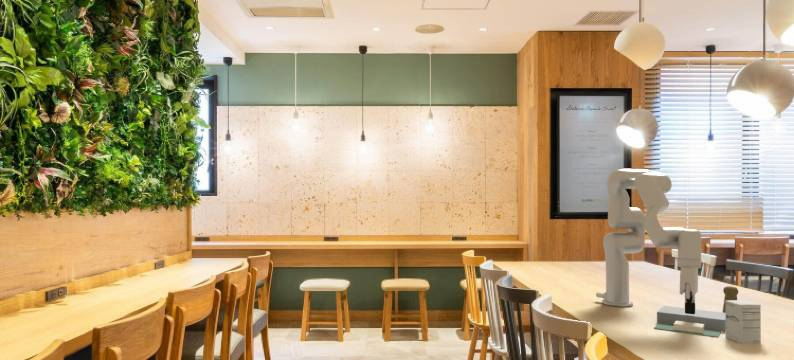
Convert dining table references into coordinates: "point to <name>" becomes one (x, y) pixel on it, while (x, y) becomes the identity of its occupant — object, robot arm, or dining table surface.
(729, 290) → the cork
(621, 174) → the robot arm
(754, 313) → the supplement box
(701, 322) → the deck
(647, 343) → the dining table surface
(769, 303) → the dining table surface
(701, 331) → the card
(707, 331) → the mat
